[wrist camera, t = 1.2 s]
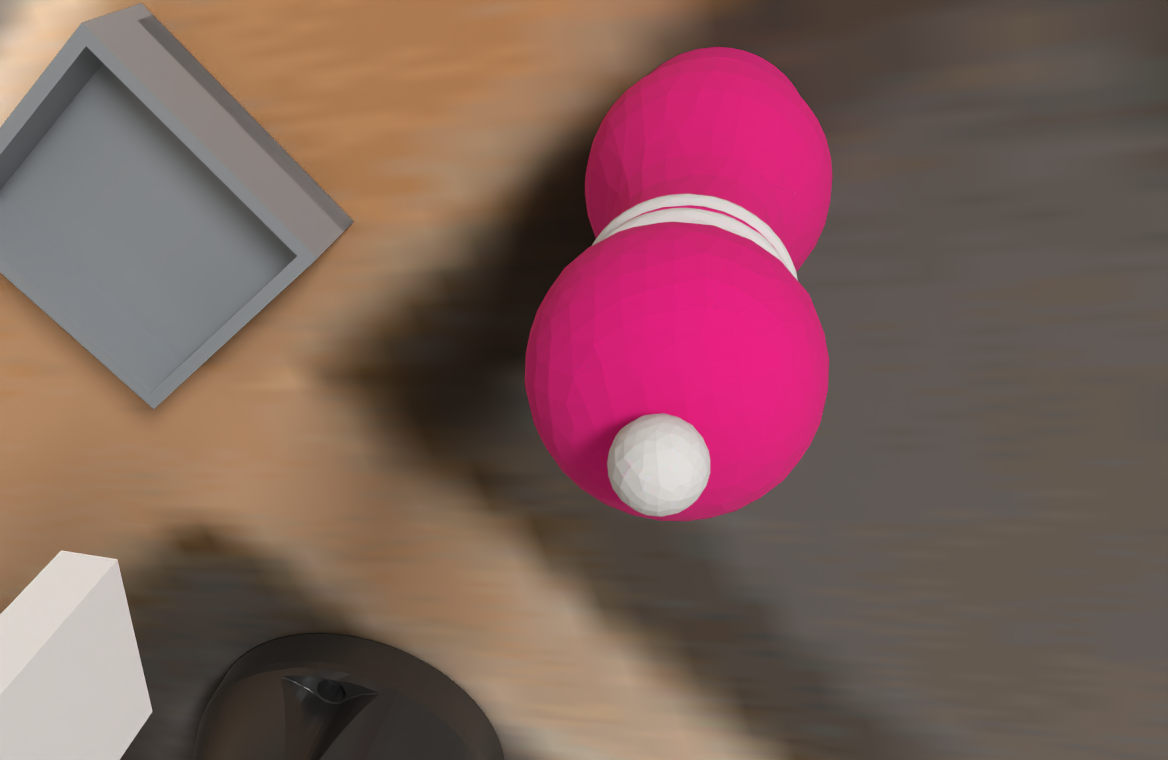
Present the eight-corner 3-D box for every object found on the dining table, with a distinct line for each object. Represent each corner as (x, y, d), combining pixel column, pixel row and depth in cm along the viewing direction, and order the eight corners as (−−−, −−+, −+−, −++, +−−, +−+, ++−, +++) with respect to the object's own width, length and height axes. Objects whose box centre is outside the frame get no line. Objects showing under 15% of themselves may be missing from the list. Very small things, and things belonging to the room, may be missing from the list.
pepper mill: (838, 225, 35) (901, 644, 18) (631, 259, 37) (505, 668, 19) (810, 7, 31) (853, 259, 14) (584, 55, 33) (384, 331, 16)
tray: (198, 365, 42) (153, 409, 39) (-2, 181, 39) (-66, 213, 36) (353, 221, 38) (317, 258, 35) (141, 3, 35) (81, 22, 32)
